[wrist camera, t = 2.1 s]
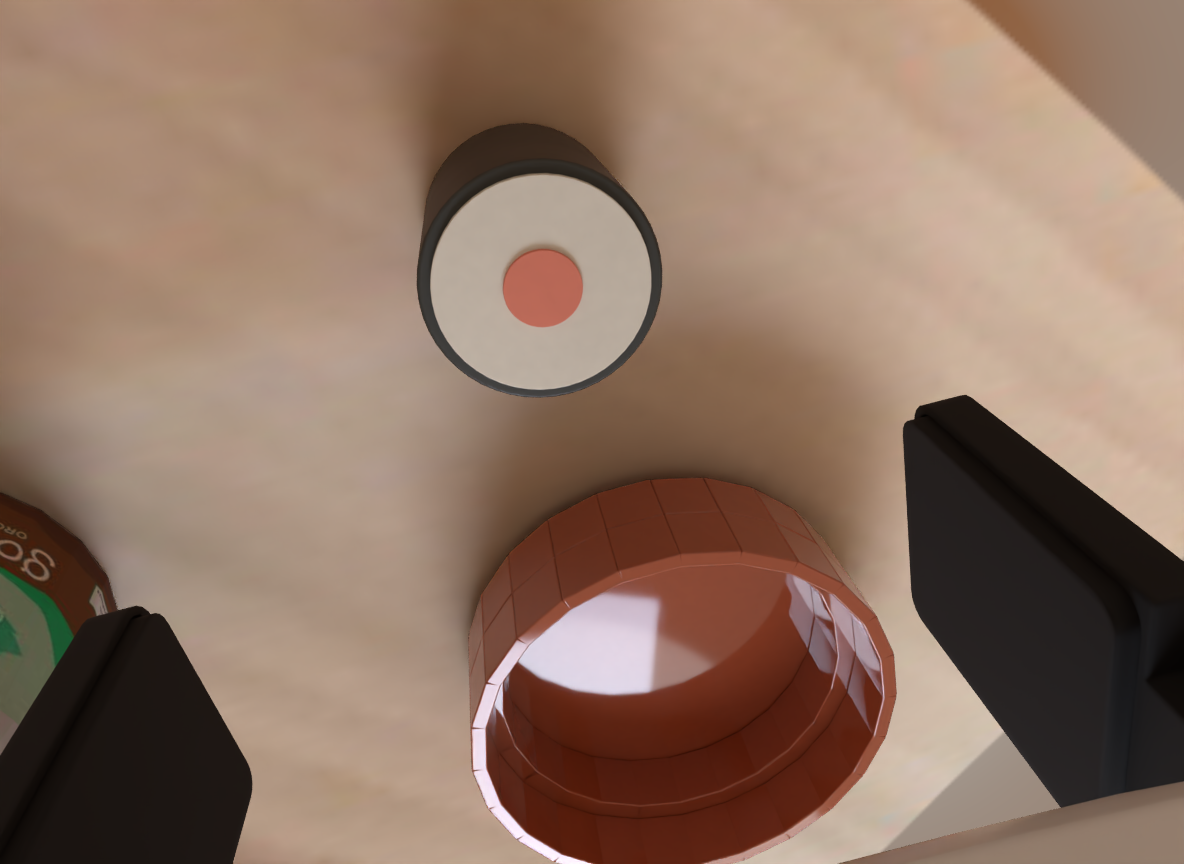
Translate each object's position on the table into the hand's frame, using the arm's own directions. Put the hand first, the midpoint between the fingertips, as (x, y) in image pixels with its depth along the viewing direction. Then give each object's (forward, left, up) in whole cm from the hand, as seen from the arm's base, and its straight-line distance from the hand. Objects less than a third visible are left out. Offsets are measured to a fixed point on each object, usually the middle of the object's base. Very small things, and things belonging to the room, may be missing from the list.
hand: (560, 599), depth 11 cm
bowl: (+15, +2, -16) cm, 22 cm away
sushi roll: (-1, +1, -16) cm, 16 cm away
